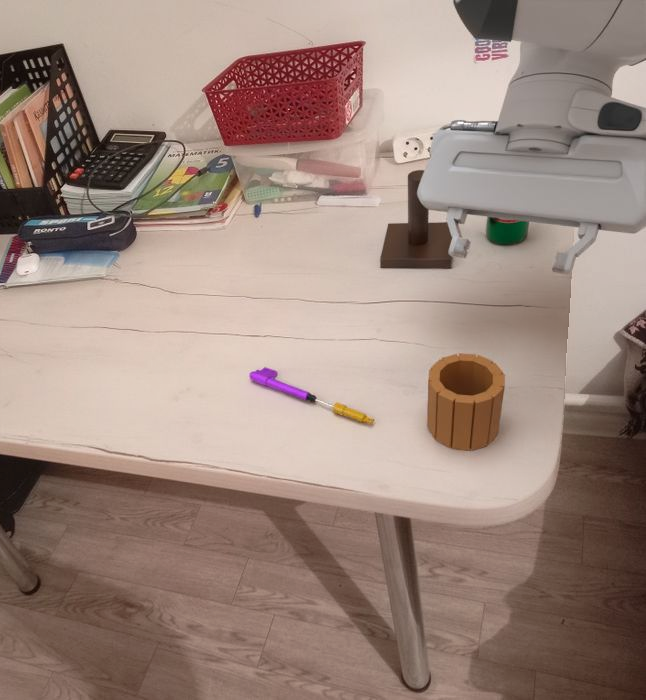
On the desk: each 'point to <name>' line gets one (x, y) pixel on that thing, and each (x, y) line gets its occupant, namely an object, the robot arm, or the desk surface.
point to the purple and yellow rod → (303, 394)
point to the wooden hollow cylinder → (465, 401)
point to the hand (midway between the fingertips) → (506, 264)
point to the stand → (416, 236)
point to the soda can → (506, 230)
